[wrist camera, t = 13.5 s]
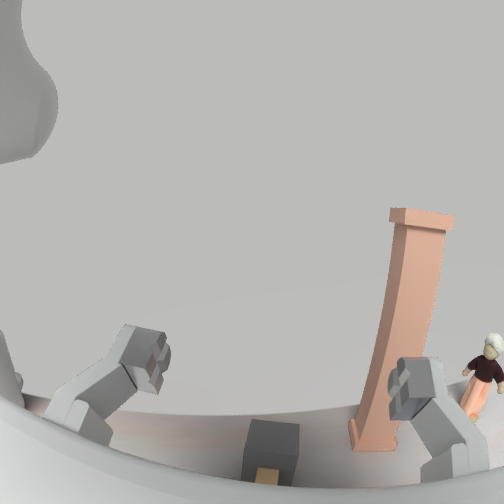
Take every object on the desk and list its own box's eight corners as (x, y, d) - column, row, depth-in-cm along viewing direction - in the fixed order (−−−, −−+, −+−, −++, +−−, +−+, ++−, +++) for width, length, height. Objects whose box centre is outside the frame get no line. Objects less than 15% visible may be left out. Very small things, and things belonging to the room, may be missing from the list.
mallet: (220, 565, 15) (221, 533, 14) (247, 461, 28) (251, 418, 27) (279, 573, 14) (293, 542, 13) (290, 466, 27) (299, 424, 26)
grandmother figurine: (442, 411, 35) (469, 329, 33) (453, 401, 37) (478, 323, 35) (484, 431, 28) (518, 345, 27) (492, 420, 30) (524, 338, 29)
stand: (352, 451, 29) (405, 208, 25) (348, 425, 34) (390, 207, 30) (394, 450, 28) (454, 215, 25) (385, 426, 33) (433, 214, 30)
